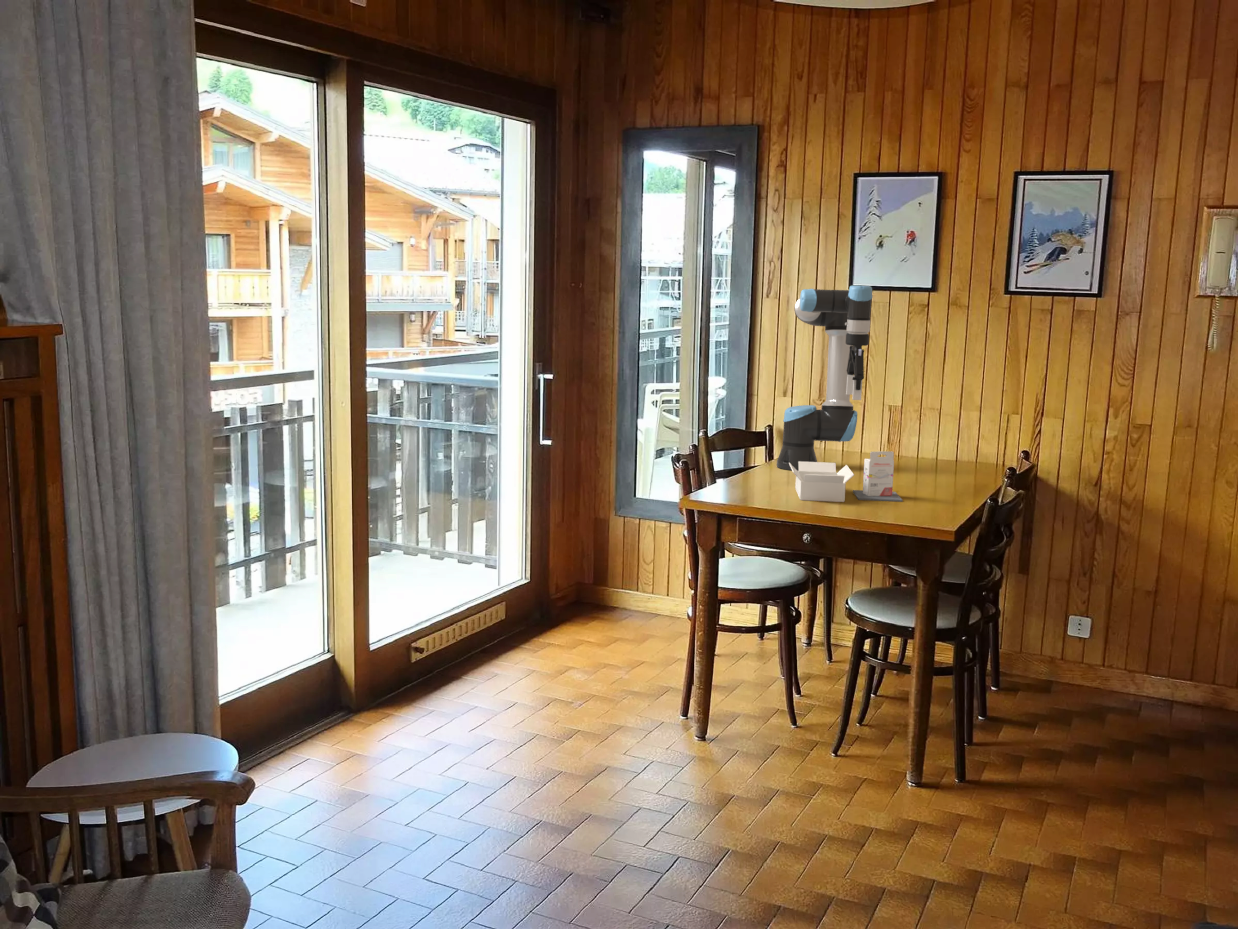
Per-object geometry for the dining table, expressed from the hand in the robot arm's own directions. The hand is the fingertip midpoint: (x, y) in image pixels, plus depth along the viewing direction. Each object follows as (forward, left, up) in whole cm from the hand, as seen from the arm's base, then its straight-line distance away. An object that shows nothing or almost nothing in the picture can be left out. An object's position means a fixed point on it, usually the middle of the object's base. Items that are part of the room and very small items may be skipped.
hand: (853, 397), depth 372 cm
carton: (+11, -11, -32) cm, 35 cm away
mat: (+9, +8, -32) cm, 34 cm away
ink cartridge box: (+9, +8, -31) cm, 33 cm away
